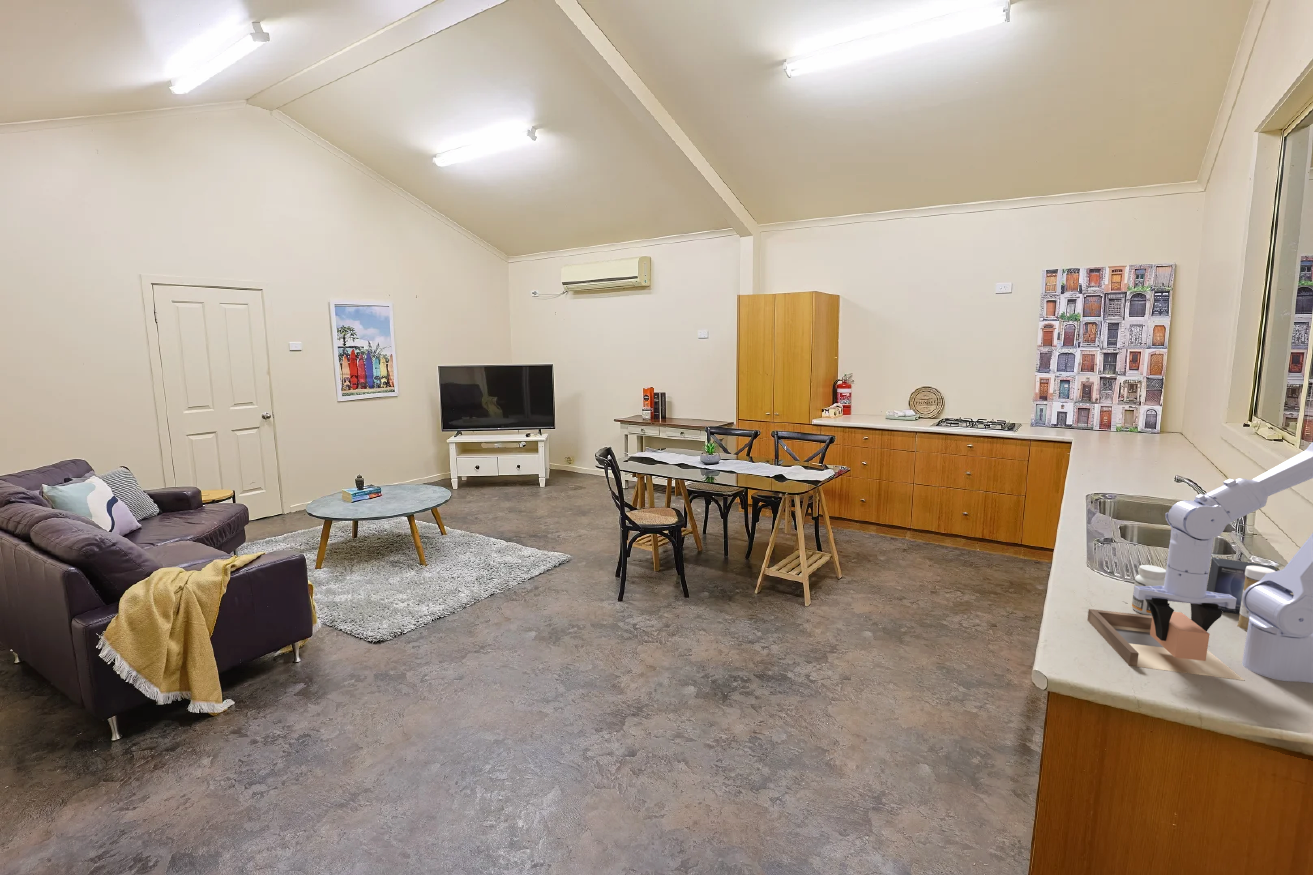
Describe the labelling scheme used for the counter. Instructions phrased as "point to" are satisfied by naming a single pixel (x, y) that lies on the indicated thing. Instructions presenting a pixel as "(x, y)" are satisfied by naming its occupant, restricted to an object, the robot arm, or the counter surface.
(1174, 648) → the terracotta bar
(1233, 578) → the small box
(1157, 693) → the counter surface
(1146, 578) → the pill bottle
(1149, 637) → the tray
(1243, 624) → the sprinkles bottle
